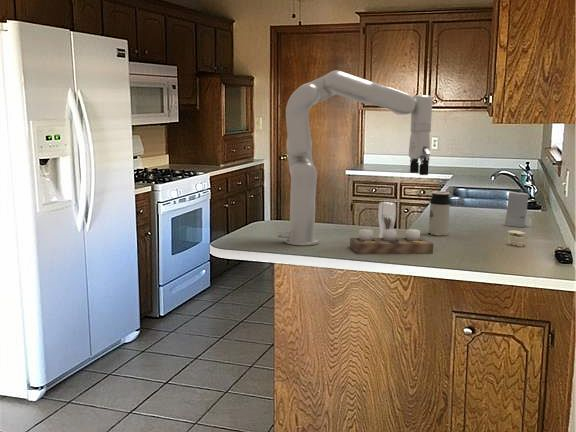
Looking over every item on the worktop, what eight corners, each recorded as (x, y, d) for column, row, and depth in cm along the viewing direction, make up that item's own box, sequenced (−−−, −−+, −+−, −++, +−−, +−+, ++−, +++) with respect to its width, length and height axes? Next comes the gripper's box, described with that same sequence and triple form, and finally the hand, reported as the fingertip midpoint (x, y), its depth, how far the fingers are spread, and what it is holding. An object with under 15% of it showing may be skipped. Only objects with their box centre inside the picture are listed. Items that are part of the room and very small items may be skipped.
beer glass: (381, 242, 249) (383, 204, 247) (374, 238, 256) (376, 201, 254) (397, 241, 251) (399, 204, 249) (390, 238, 258) (392, 201, 255)
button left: (361, 241, 232) (361, 231, 231) (357, 239, 236) (358, 229, 236) (374, 241, 232) (374, 231, 232) (370, 239, 237) (371, 229, 237)
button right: (408, 241, 234) (409, 231, 234) (404, 239, 239) (404, 229, 239) (421, 241, 235) (422, 231, 234) (416, 239, 240) (417, 229, 239)
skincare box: (505, 226, 297) (507, 192, 295) (507, 224, 304) (510, 191, 301) (524, 227, 293) (526, 193, 291) (526, 225, 300) (529, 192, 297)
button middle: (384, 241, 233) (385, 231, 232) (381, 239, 238) (381, 229, 237) (398, 241, 234) (398, 231, 233) (393, 239, 238) (394, 229, 238)
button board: (357, 253, 226) (358, 243, 226) (349, 246, 238) (350, 236, 237) (432, 253, 230) (433, 242, 230) (421, 246, 242) (421, 236, 242)
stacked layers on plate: (533, 247, 249) (534, 233, 248) (517, 249, 245) (518, 234, 244) (513, 242, 257) (514, 229, 257) (497, 244, 253) (498, 230, 252)
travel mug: (446, 233, 273) (449, 191, 271) (448, 236, 266) (451, 193, 263) (427, 232, 275) (430, 190, 272) (429, 235, 267) (431, 192, 264)
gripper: (403, 128, 247) (401, 172, 250) (419, 128, 230) (417, 175, 233) (421, 128, 248) (419, 171, 251) (439, 128, 231) (437, 175, 234)
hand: (418, 173), depth 242 cm, fingers open, 9 cm apart
